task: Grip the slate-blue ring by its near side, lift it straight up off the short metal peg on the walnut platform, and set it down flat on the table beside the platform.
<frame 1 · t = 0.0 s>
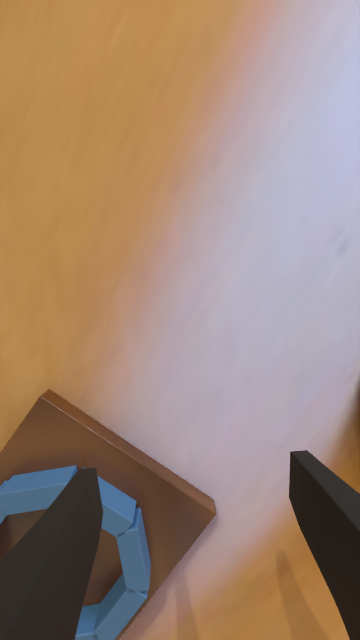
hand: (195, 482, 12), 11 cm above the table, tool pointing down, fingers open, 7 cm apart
platform: (68, 532, 23), on the table
ring: (61, 549, 22), point 1 cm above the table, touching platform
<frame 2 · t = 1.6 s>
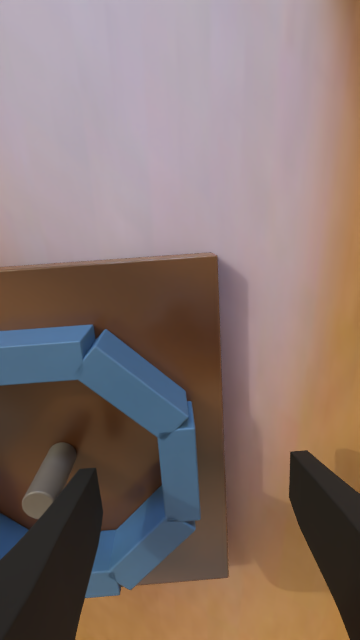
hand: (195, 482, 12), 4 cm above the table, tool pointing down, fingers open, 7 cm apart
platform: (72, 432, 16), on the table
ring: (63, 453, 14), point 1 cm above the table, touching platform
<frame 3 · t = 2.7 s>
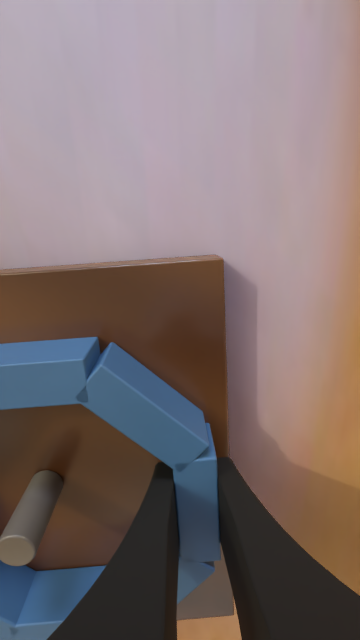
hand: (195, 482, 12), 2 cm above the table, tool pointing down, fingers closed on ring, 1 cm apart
platform: (60, 456, 14), on the table
ring: (63, 481, 13), point 2 cm above the table, touching gripper, platform
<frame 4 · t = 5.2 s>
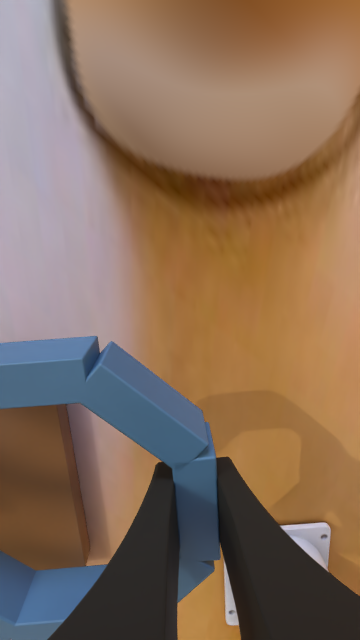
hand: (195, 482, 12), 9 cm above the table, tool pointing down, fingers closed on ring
ring: (62, 480, 13), point 9 cm above the table, touching gripper
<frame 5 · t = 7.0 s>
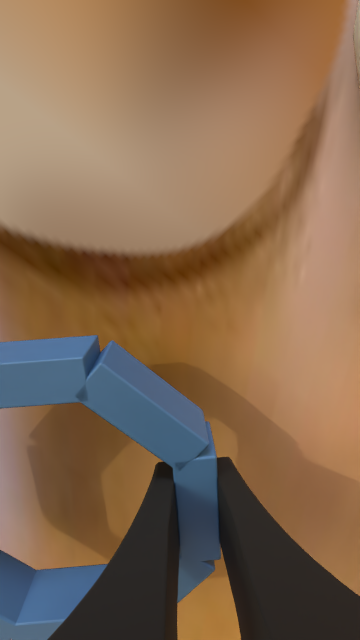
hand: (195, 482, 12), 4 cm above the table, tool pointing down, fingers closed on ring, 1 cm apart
ring: (63, 480, 13), point 3 cm above the table, touching gripper
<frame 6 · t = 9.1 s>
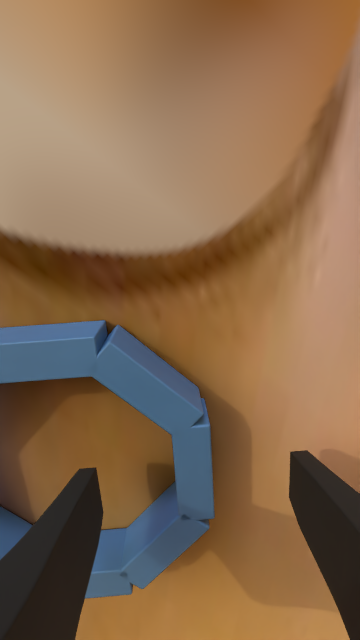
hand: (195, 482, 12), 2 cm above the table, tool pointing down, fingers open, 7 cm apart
ring: (73, 451, 14), on the table
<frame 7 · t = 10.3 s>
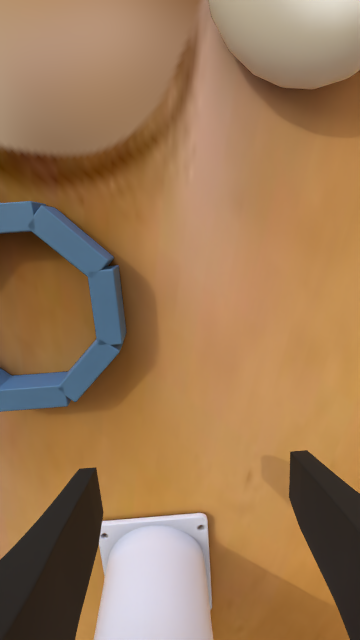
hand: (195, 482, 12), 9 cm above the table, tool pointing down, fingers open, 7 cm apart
ring: (27, 307, 20), on the table
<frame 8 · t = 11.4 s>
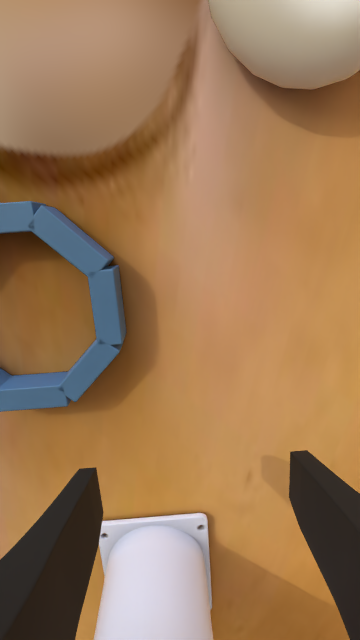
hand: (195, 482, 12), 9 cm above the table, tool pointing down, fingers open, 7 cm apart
ring: (27, 307, 20), on the table
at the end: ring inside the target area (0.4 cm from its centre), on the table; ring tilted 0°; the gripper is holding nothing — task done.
